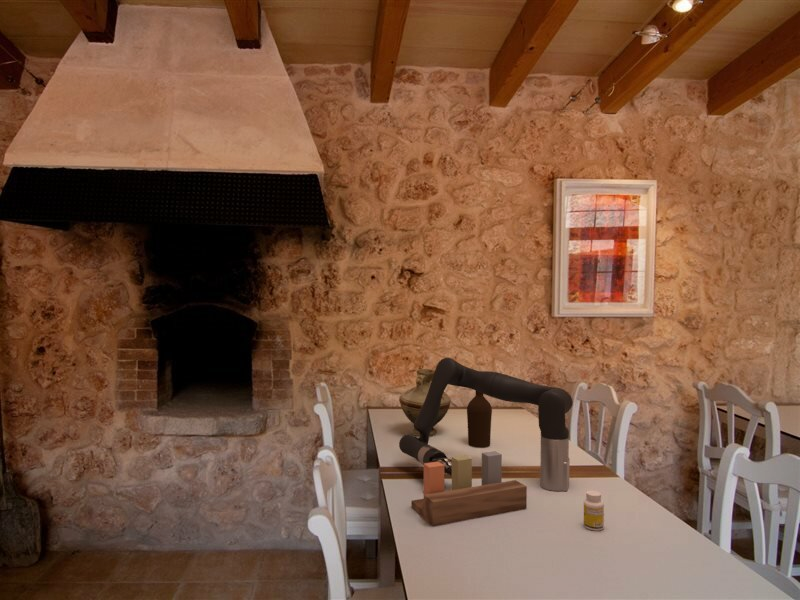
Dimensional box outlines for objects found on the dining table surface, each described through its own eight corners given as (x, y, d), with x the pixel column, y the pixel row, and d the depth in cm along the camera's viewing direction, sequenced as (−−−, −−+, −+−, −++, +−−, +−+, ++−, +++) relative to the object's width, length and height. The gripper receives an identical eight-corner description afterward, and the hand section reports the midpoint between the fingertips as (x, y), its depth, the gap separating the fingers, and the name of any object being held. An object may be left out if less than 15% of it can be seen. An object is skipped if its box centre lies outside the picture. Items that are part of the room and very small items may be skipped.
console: (411, 507, 171) (411, 484, 171) (499, 492, 184) (499, 471, 183) (433, 526, 157) (433, 502, 157) (526, 508, 170) (526, 486, 170)
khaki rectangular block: (451, 494, 175) (451, 456, 175) (465, 492, 177) (465, 455, 177) (457, 498, 172) (457, 460, 171) (471, 496, 174) (471, 458, 173)
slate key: (481, 489, 180) (481, 452, 179) (494, 487, 182) (494, 451, 181) (488, 493, 176) (488, 456, 176) (501, 491, 178) (501, 454, 178)
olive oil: (479, 449, 231) (480, 390, 230) (461, 444, 239) (461, 386, 239) (496, 445, 238) (497, 387, 237) (478, 439, 246) (478, 384, 245)
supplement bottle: (587, 521, 161) (588, 488, 161) (606, 526, 157) (606, 492, 157) (580, 527, 157) (580, 493, 156) (599, 533, 153) (600, 498, 153)
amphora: (404, 443, 243) (410, 377, 240) (391, 425, 266) (396, 364, 262) (454, 442, 249) (460, 377, 246) (437, 424, 272) (442, 364, 269)
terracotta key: (423, 502, 169) (423, 463, 168) (438, 500, 171) (438, 461, 170) (429, 507, 165) (429, 467, 165) (444, 504, 167) (444, 465, 167)
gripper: (415, 450, 191) (437, 465, 175) (448, 445, 196) (474, 459, 180) (415, 471, 191) (437, 488, 175) (448, 466, 196) (474, 482, 180)
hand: (456, 473), depth 178 cm, fingers closed
